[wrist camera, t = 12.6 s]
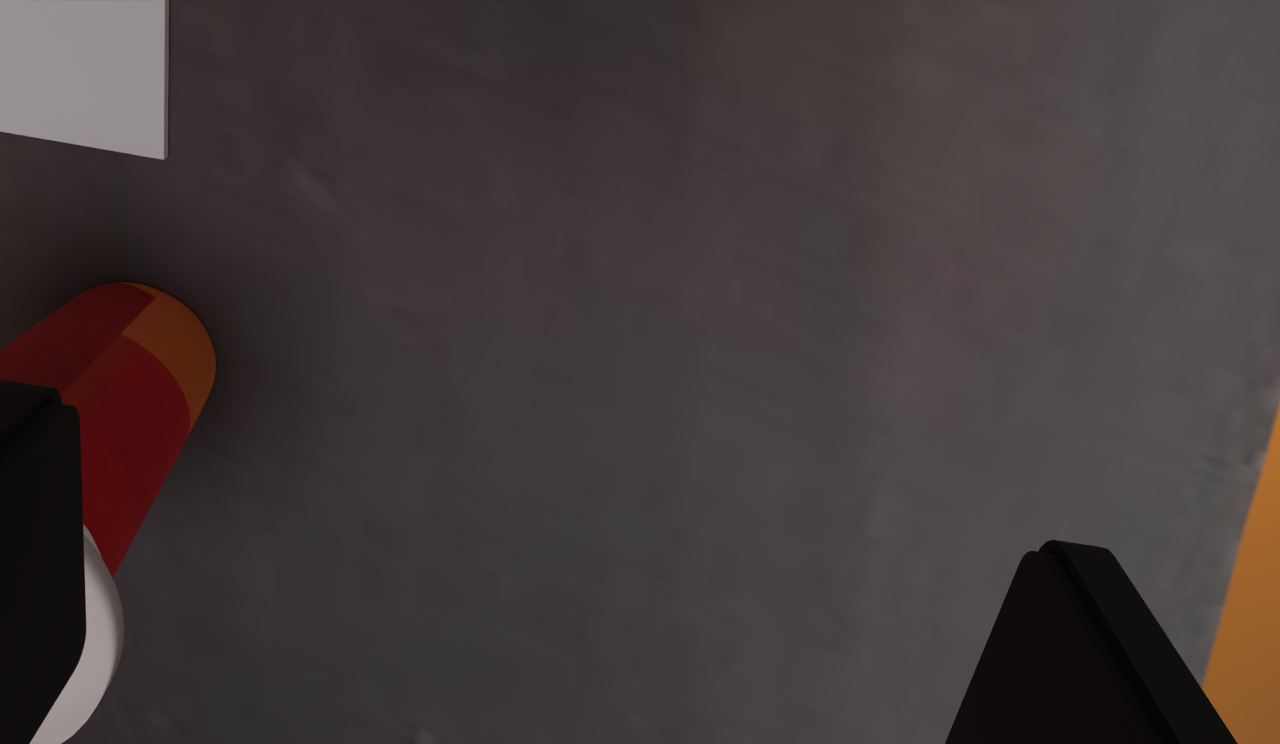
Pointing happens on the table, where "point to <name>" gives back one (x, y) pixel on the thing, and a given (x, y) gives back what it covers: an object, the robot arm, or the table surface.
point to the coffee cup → (120, 395)
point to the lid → (89, 654)
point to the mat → (87, 73)
